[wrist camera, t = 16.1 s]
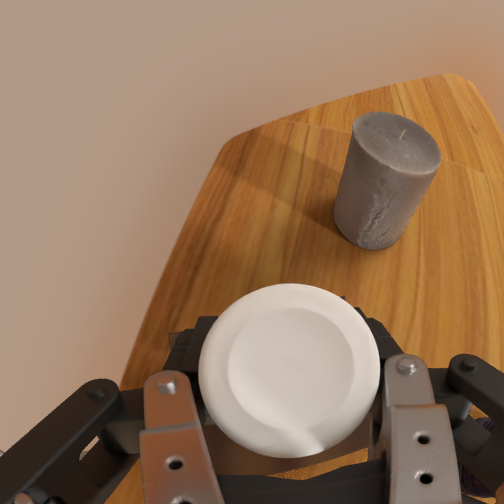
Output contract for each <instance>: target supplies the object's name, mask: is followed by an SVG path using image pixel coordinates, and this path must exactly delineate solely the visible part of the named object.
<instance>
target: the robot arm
mask: <svg viewBox="0 0 504 504" xmlns="http://www.w3.org/2000/svg"><path fill="white" fill-rule="evenodd" d="M354 309H355V310H356V311H357V312H358V313H359V314H360V315H361V317H362V318H363V319H364V321H365V322H366V324H367V325H368V327H369V328H370V330H371V332H372V335H373V337H374V339H375V342H376V345H377V348H378V353H379V360H380V379H379V385H378V390H377V393H376V396H375V399H374V402H373V404H372V406H371V408H370V410H369V412H371V414H372V420H371V423H370V434H369V448H368V459H367V462H363V463H358V464H353V465H348V466H343V467H341V468H338V469H336V470H333V471H330V472H327V473H325V474H322V475H319V476H316V477H313V478H310V479H306V480H293V479H284V478H277V477H270V476H263V475H217V478H216V475H215V472H214V469H213V466H212V462H211V459H210V456H209V453H208V449H207V446H206V442H205V439H204V435H203V432H204V426H205V425H214V420H213V419H212V417H211V416H210V414H209V412H208V410H207V408H206V406H205V403H204V401H203V398H202V395H201V391H200V386H199V377H198V371H199V359H200V355H201V350H202V347H203V343H204V341H205V339H206V336H207V334H208V333H209V331H210V329H211V327H212V326H213V324H214V322H215V321H216V320H217V319H218V316H202V317H199V318H198V320H197V323H196V325H195V328H194V329H185V330H184V331H183V332H182V333H181V334H179V335H178V336H177V339H176V341H175V343H174V345H173V348H172V352H170V354H169V357H168V359H167V361H166V363H165V366H164V368H163V370H162V371H161V372H157V373H155V374H153V375H151V376H150V377H148V379H147V380H146V381H145V383H144V388H141V389H136V390H128V391H119V388H118V386H117V384H116V383H115V382H113V381H111V380H108V379H95V380H91V381H89V382H87V383H85V384H84V385H82V386H81V387H80V388H79V389H78V390H76V391H75V392H74V393H73V394H72V395H71V396H70V397H68V398H67V399H66V400H65V401H64V402H63V403H61V404H60V405H59V406H58V407H57V408H56V409H55V410H53V411H52V412H51V413H50V414H49V415H48V416H46V417H45V418H44V419H43V420H42V421H41V422H40V423H38V424H37V425H36V426H35V427H34V428H33V429H31V430H30V431H29V432H28V433H27V434H26V435H25V436H24V437H22V438H21V439H20V440H19V441H18V442H17V443H15V445H13V446H12V447H11V448H10V449H9V450H7V451H6V452H5V453H4V454H3V455H2V456H1V457H0V504H104V503H105V501H106V500H107V499H108V498H109V496H110V495H111V494H112V492H113V491H114V490H115V489H116V487H117V486H118V485H119V484H120V482H121V481H122V480H123V478H124V477H125V476H126V475H127V473H128V472H129V471H130V469H131V468H132V467H133V465H134V464H135V463H136V461H137V460H138V459H139V458H141V472H142V483H143V493H144V501H145V504H487V503H484V502H482V501H479V500H477V499H475V498H472V497H470V496H467V495H465V494H463V493H461V489H460V480H459V472H458V465H457V460H459V461H460V462H461V463H462V464H463V465H464V466H465V467H466V468H467V469H468V470H469V471H470V472H471V473H472V474H473V475H474V476H475V477H476V478H477V479H478V480H479V481H480V482H481V483H482V484H483V485H484V486H486V487H487V488H488V489H489V490H490V491H491V492H492V493H493V494H494V495H495V496H496V503H495V504H504V373H502V372H501V371H499V370H498V369H496V368H494V367H493V366H491V365H490V364H488V363H487V362H485V361H484V360H482V359H481V358H479V357H477V356H474V355H470V354H459V355H456V356H454V357H453V358H452V359H451V361H450V364H449V367H448V368H427V365H426V363H425V362H424V361H423V360H422V359H421V358H419V357H417V356H415V355H411V354H404V353H403V351H402V350H401V348H400V347H399V346H398V344H397V343H396V342H395V340H394V339H393V338H392V337H391V335H390V334H389V332H387V330H386V328H385V327H384V326H383V325H382V323H380V322H379V321H377V320H375V319H373V318H366V316H365V315H364V313H363V312H362V311H361V309H360V308H359V307H354ZM473 404H474V405H475V406H476V407H477V408H479V409H480V410H481V411H483V412H484V413H485V414H486V415H488V416H489V417H490V418H491V419H492V420H493V423H494V431H493V433H492V434H491V433H490V432H489V431H488V430H487V429H485V428H484V427H483V426H482V425H480V424H479V423H478V422H477V421H476V420H474V419H473V418H472V417H471V416H470V415H468V414H469V412H470V410H471V407H472V405H473ZM369 412H368V413H369ZM96 436H98V438H99V441H98V442H97V443H96V444H95V445H94V446H93V447H92V448H91V449H90V451H89V452H88V453H87V454H86V455H85V456H84V457H83V458H82V459H81V460H80V461H79V457H80V454H81V452H82V451H83V450H84V449H85V447H86V446H87V445H88V444H89V443H90V442H91V441H92V440H93V439H94V438H95V437H96Z"/></svg>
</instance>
